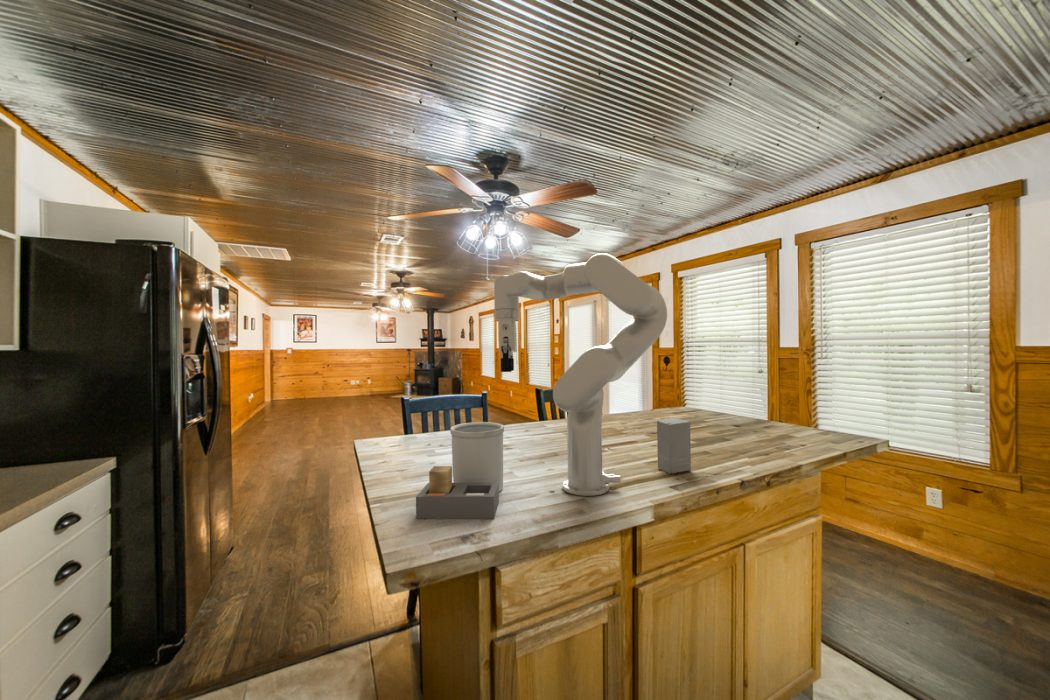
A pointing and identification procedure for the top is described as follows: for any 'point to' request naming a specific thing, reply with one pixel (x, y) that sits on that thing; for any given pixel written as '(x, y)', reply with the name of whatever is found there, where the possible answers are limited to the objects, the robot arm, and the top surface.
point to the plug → (440, 479)
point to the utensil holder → (477, 453)
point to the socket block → (459, 502)
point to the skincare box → (674, 445)
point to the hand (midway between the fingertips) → (507, 371)
